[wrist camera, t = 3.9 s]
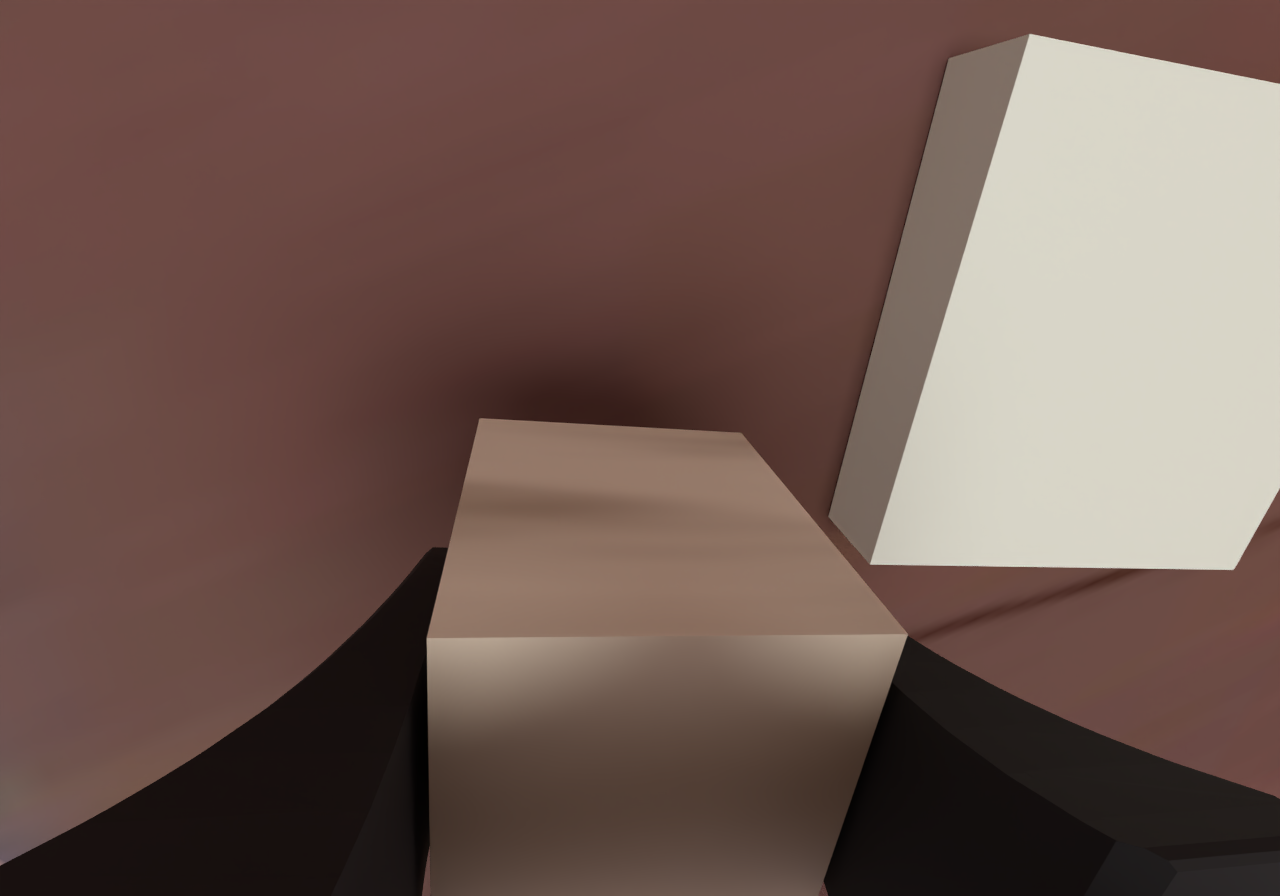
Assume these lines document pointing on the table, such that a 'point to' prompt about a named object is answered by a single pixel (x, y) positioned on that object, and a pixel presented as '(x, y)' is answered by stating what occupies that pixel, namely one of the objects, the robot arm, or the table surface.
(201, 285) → the table surface
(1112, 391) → the base plinth
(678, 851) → the ash block
